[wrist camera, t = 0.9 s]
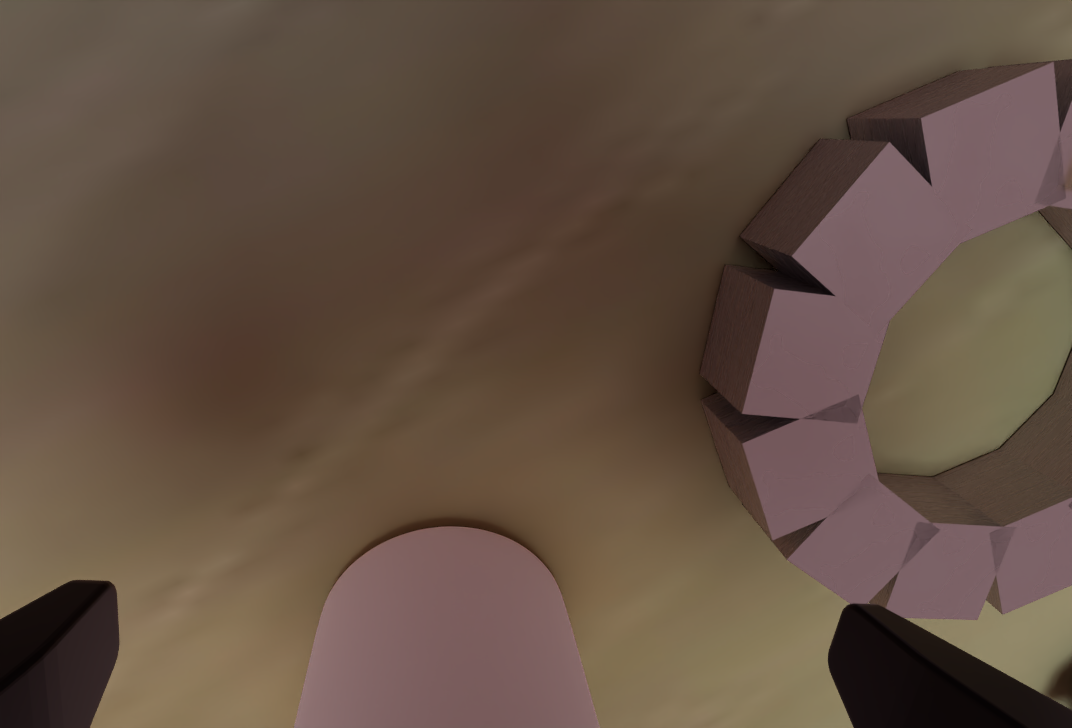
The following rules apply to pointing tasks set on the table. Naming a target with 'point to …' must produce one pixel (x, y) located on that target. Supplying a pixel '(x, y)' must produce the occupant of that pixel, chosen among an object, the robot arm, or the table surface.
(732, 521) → the table surface
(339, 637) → the can
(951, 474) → the toothed ring
